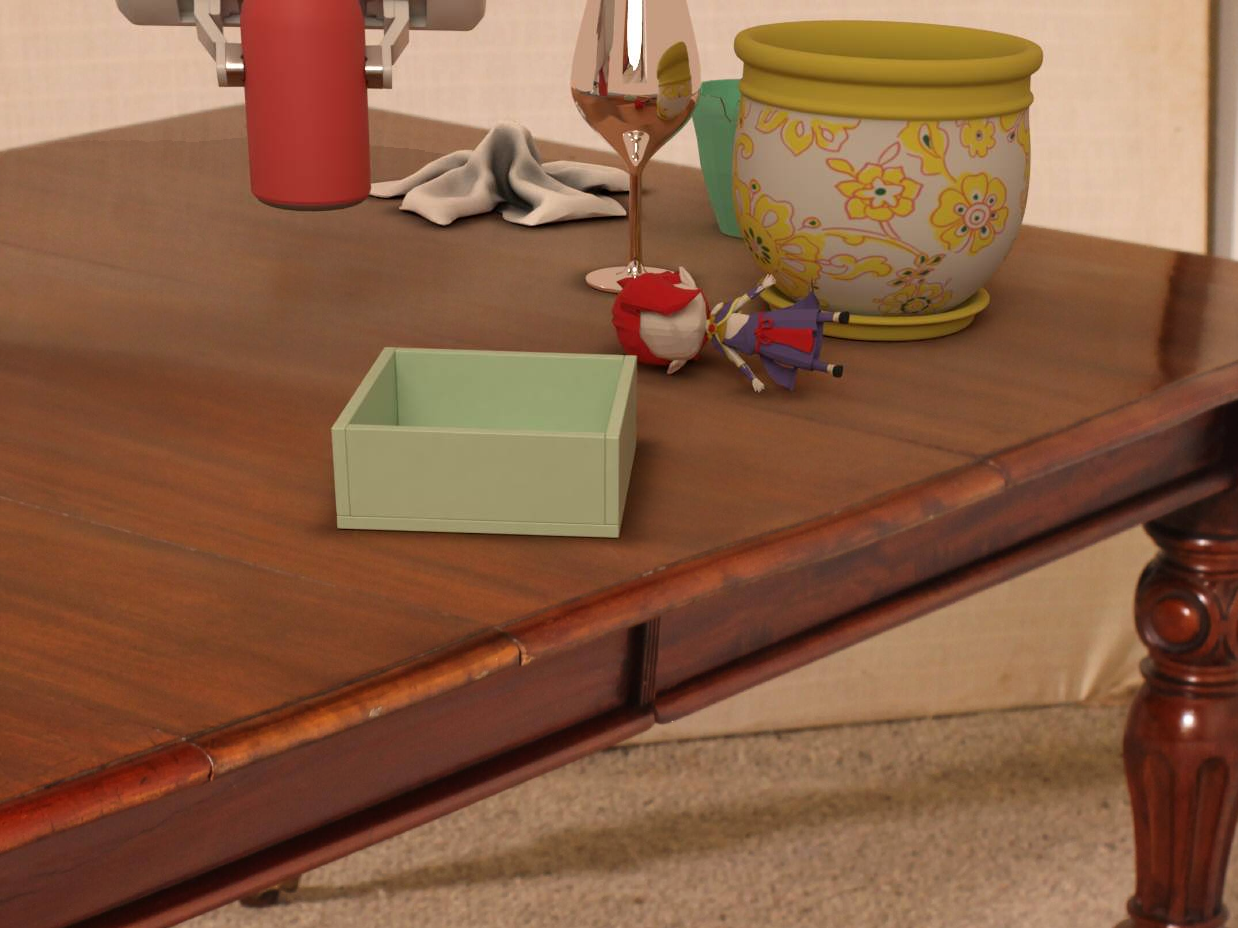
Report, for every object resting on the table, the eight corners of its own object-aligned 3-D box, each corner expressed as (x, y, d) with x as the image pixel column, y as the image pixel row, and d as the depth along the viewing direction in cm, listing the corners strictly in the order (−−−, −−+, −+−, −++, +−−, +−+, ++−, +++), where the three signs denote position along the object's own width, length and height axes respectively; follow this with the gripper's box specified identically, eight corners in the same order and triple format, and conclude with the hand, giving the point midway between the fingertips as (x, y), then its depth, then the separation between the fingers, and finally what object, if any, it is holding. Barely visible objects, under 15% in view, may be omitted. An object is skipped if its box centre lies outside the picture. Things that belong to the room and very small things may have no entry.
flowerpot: (894, 375, 105) (914, 71, 98) (665, 309, 116) (669, 32, 109) (1075, 318, 117) (1104, 45, 110) (852, 264, 128) (866, 12, 121)
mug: (694, 247, 131) (698, 100, 127) (678, 216, 140) (681, 77, 136) (900, 247, 133) (910, 102, 129) (872, 216, 142) (880, 80, 138)
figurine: (815, 408, 97) (558, 369, 102) (869, 399, 104) (627, 363, 110) (830, 282, 95) (568, 249, 101) (883, 282, 103) (637, 251, 108)
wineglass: (545, 279, 122) (542, -13, 114) (639, 260, 127) (641, -20, 120) (630, 305, 117) (632, 1, 109) (724, 284, 122) (732, -7, 115)
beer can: (295, 184, 110) (283, -33, 105) (393, 197, 108) (386, -24, 103) (227, 204, 104) (211, -24, 99) (330, 219, 102) (319, -14, 97)
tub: (337, 528, 82) (331, 427, 80) (388, 437, 93) (384, 346, 91) (618, 538, 82) (619, 437, 80) (636, 445, 93) (637, 355, 91)
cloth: (638, 178, 152) (639, 100, 150) (648, 230, 135) (648, 143, 133) (358, 173, 150) (354, 94, 148) (332, 226, 133) (327, 137, 131)
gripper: (99, -171, 102) (98, 41, 98) (479, -156, 106) (495, 48, 102) (115, -89, 108) (115, 114, 103) (475, -79, 112) (489, 117, 107)
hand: (306, 81), depth 103 cm, fingers closed on beer can, 6 cm apart
